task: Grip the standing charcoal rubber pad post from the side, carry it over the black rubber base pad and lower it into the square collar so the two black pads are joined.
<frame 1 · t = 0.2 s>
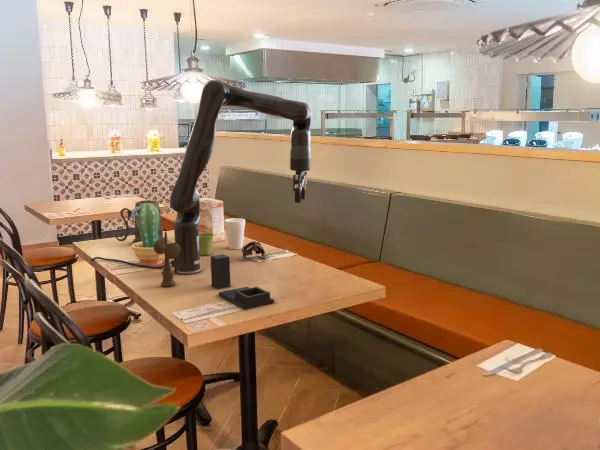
hand: (299, 200, 214), 29 cm above the table, tool pointing down, fingers open, 8 cm apart
brown curved piece: (255, 258, 247), on the table
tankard: (142, 244, 272), on the table
base pad: (245, 299, 192), on the table
plant pot: (204, 254, 253), on the table
potted cactus: (151, 263, 238), on the table
coffeecake box: (210, 239, 284), on the table
kendama: (168, 286, 207), on the table
foam cup: (235, 248, 266), on the table
pad post: (221, 286, 206), on the table
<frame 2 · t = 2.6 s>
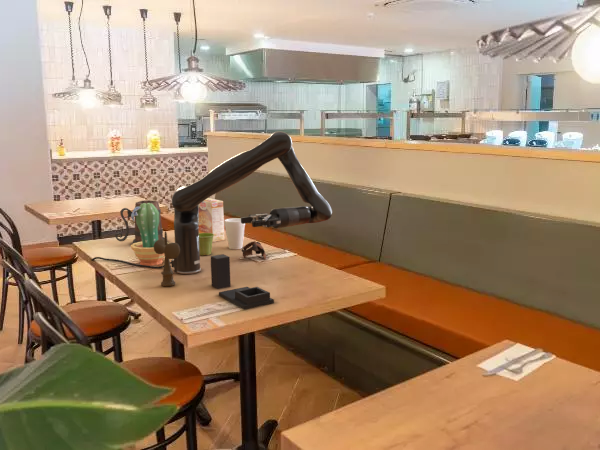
hand: (246, 222, 209), 22 cm above the table, tool horizontal, fingers open, 8 cm apart
nothing on the table moved.
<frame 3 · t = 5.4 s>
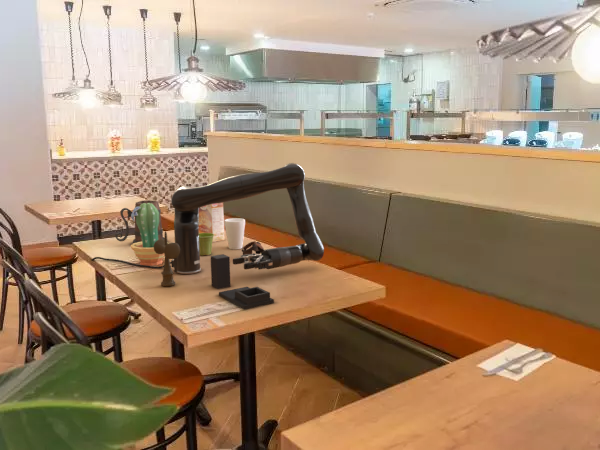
hand: (238, 264, 209), 7 cm above the table, tool horizontal, fingers open, 8 cm apart
nothing on the table moved.
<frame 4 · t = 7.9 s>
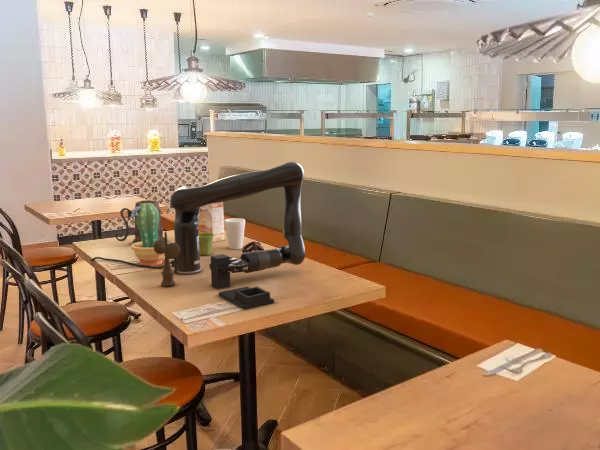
hand: (213, 268, 203), 7 cm above the table, tool horizontal, fingers closed on pad post, 5 cm apart
pad post: (221, 286, 206), on the table, touching gripper
everything else where it was.
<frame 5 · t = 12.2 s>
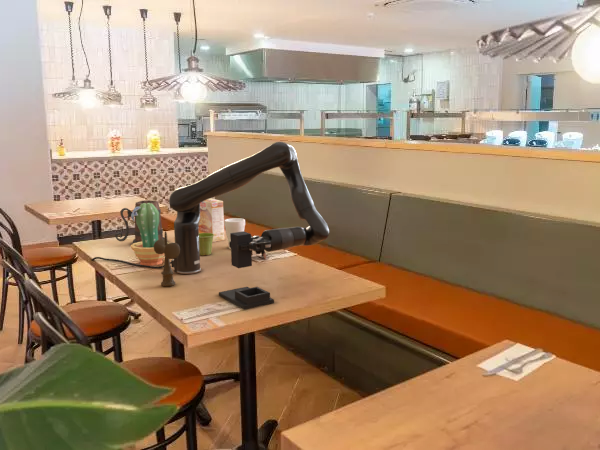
hand: (234, 246, 189), 18 cm above the table, tool horizontal, fingers closed on pad post, 5 cm apart
pad post: (241, 265, 192), point 11 cm above the table, touching gripper
everything else where it was.
when the fingers open (8 cm above the table, at t = 16.3 s): pad post stays where it is, resting on base pad.
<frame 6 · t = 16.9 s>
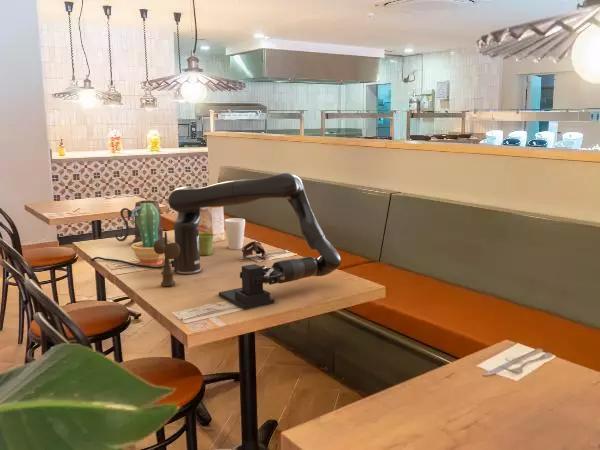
hand: (246, 278, 186), 9 cm above the table, tool horizontal, fingers open, 8 cm apart
pad post: (252, 299, 188), point 1 cm above the table, touching base pad
everything else where it was.
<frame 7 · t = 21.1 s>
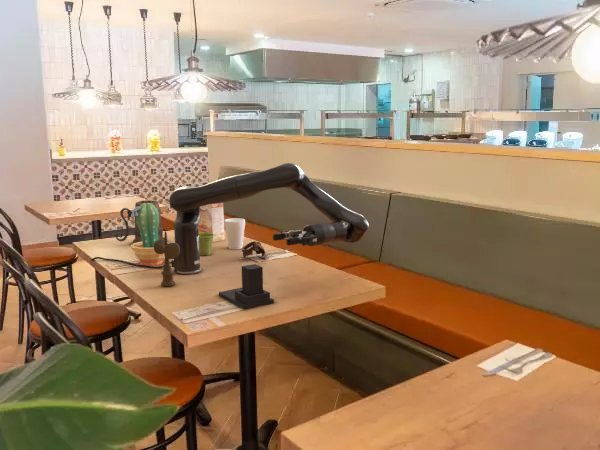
hand: (280, 239, 191), 20 cm above the table, tool horizontal, fingers open, 8 cm apart
nothing on the table moved.
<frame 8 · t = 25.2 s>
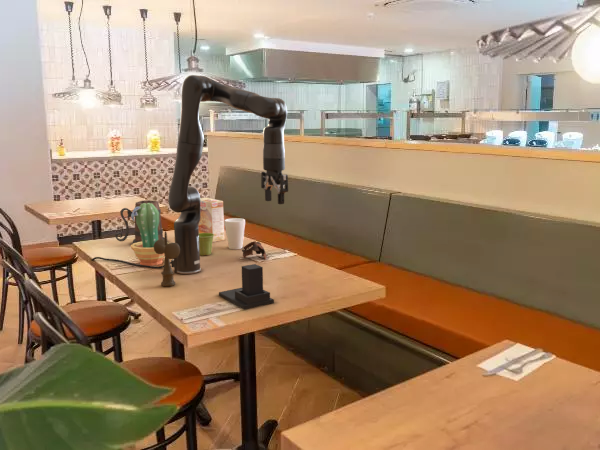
hand: (274, 202, 203), 30 cm above the table, tool pointing down, fingers open, 8 cm apart
nothing on the table moved.
at the end: pad post 0.1 cm from the target spot on the base pad, point 1.2 cm above the base pad's base; pad post tilted 0°; the gripper is holding nothing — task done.
